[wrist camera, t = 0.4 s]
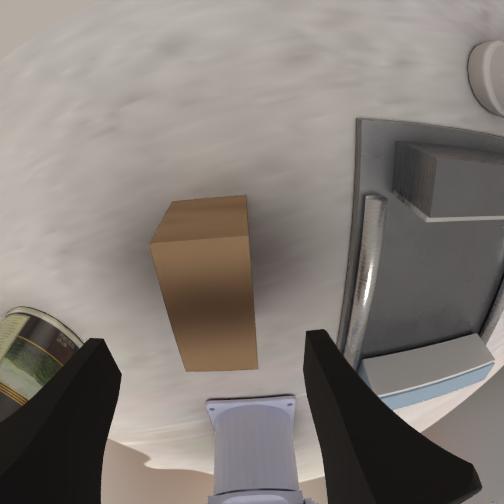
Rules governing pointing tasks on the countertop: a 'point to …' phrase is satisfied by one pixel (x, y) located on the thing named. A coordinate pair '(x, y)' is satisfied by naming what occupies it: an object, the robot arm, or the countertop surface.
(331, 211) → the countertop surface
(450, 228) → the vise
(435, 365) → the bar
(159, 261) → the walnut block
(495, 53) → the bottle
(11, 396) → the coffee can
